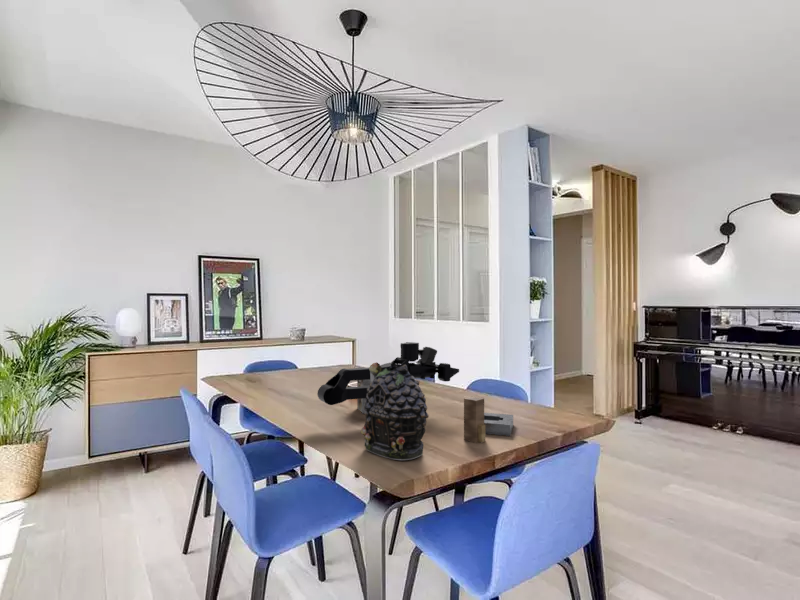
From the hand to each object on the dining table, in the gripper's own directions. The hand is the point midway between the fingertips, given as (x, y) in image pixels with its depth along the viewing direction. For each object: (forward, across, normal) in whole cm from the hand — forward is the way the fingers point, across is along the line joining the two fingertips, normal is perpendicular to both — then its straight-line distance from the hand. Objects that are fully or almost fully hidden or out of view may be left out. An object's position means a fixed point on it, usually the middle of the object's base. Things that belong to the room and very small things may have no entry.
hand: (451, 368), depth 172 cm
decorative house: (-41, -31, +18) cm, 55 cm away
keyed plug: (-14, -32, +17) cm, 39 cm away
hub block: (-2, -25, +17) cm, 30 cm away
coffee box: (-27, +18, +18) cm, 37 cm away
